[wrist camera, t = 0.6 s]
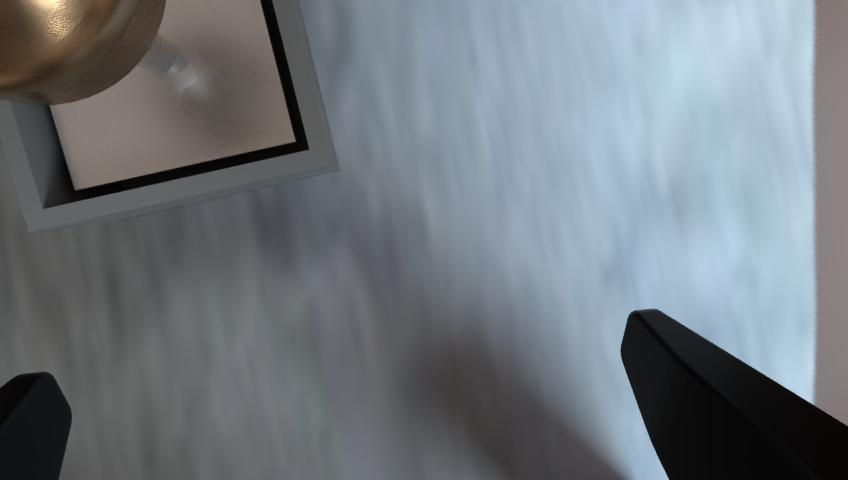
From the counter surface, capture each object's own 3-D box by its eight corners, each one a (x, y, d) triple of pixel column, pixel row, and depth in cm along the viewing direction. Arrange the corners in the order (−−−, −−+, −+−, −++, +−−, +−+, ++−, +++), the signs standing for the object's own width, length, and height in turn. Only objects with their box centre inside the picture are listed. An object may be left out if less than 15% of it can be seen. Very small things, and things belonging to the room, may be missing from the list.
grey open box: (339, 170, 22) (332, 164, 16) (122, 219, 21) (29, 232, 15) (277, -84, 21) (244, -194, 15) (47, -41, 20) (-87, -138, 14)
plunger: (298, 143, 17) (230, 94, 8) (84, 190, 17) (-240, 194, 8) (243, -72, 16) (104, -385, 7) (19, -30, 16) (-423, -313, 7)
